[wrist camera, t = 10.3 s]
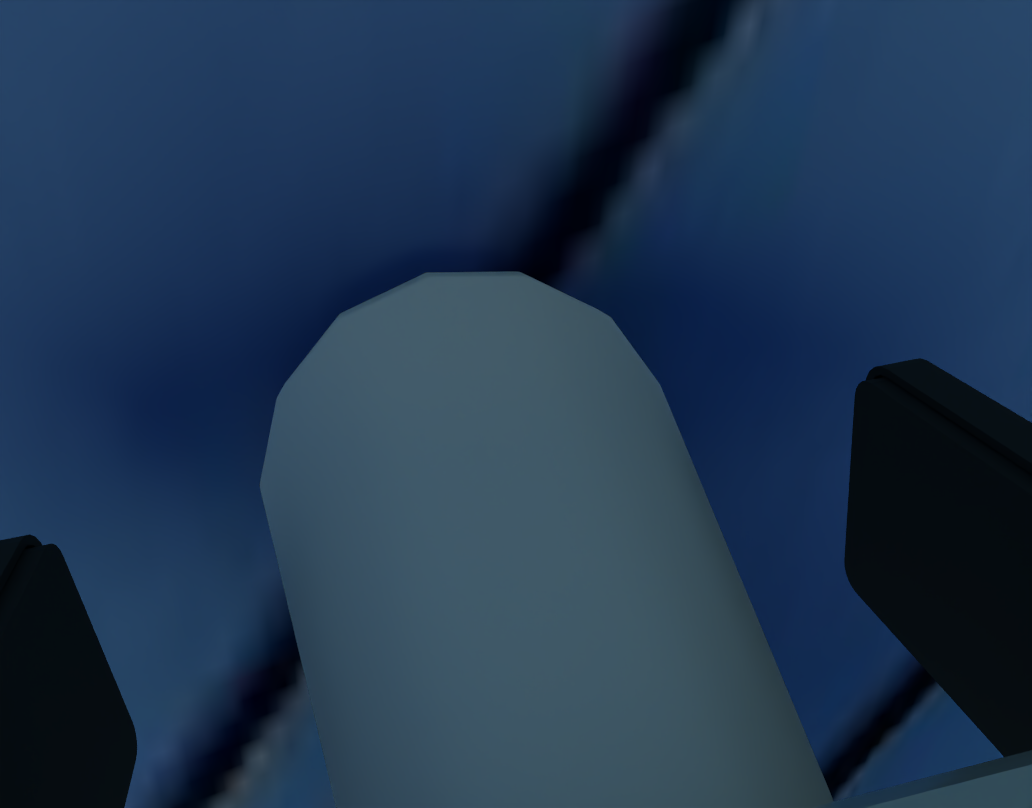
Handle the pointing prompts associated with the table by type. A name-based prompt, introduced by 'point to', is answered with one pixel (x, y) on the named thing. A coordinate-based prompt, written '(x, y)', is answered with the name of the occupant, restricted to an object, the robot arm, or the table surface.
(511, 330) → the salt shaker
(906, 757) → the table surface
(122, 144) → the table surface
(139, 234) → the table surface
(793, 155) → the table surface
